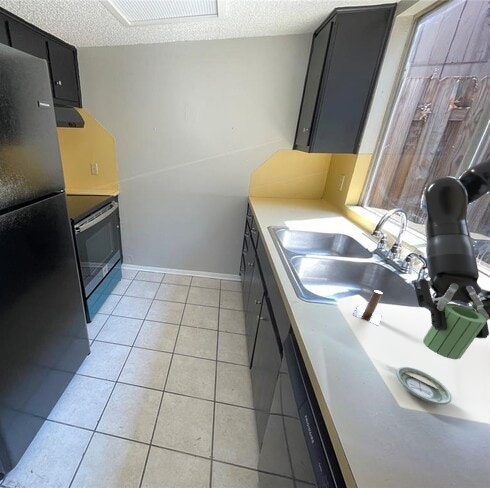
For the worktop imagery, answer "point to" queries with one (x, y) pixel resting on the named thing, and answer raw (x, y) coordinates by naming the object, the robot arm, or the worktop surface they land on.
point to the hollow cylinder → (455, 331)
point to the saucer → (423, 386)
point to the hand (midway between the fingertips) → (460, 333)
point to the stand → (370, 309)
